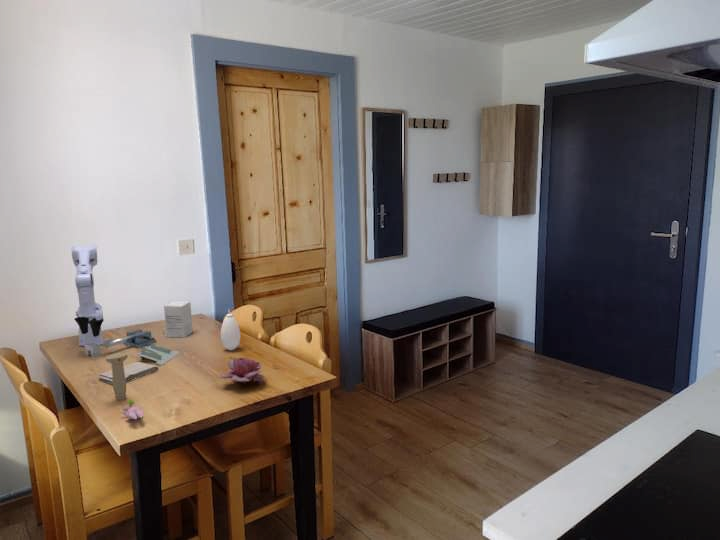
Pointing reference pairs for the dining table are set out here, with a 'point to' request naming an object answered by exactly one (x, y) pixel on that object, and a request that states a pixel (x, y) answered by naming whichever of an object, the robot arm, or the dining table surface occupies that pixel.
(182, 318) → the supplement box
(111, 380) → the washcloth
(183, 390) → the dining table surface
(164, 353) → the metal bracket
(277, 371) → the dining table surface
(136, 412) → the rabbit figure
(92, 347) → the notched block
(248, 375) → the flower
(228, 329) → the sauce bottle
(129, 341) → the vise
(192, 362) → the dining table surface
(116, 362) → the handle
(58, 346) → the dining table surface
